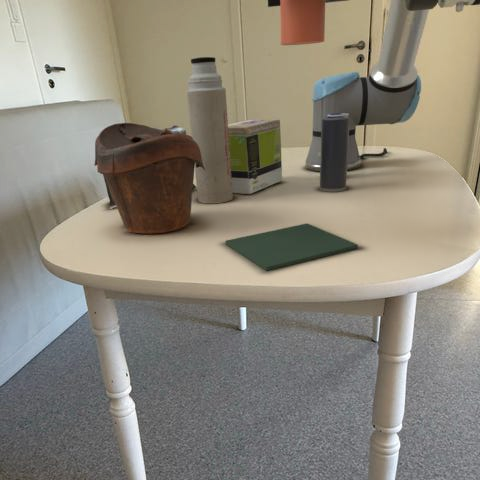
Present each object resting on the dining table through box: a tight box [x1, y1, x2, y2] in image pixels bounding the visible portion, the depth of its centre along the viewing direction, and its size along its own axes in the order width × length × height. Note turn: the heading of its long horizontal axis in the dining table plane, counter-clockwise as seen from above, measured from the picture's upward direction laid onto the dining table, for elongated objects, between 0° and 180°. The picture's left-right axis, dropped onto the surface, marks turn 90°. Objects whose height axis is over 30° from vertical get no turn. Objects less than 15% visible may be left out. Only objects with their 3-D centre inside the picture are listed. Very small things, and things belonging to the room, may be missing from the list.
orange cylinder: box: [279, 0, 326, 46], centre depth 62 cm, size 6×6×10 cm
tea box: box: [228, 119, 283, 195], centre depth 107 cm, size 15×10×15 cm, turn 145°
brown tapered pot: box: [93, 122, 206, 235], centre depth 82 cm, size 18×20×18 cm
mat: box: [225, 223, 359, 272], centre depth 71 cm, size 16×14×1 cm
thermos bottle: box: [186, 56, 234, 204], centre depth 95 cm, size 8×8×28 cm
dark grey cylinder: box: [318, 117, 350, 193], centre depth 100 cm, size 6×6×15 cm
